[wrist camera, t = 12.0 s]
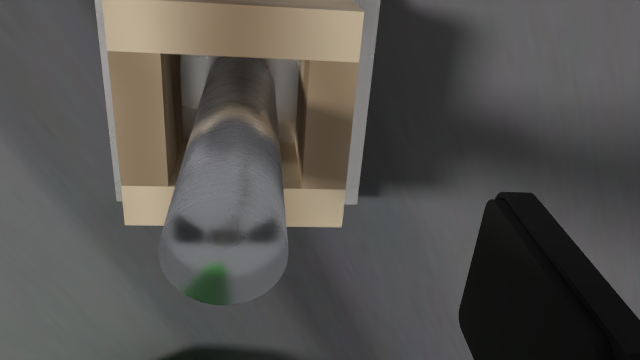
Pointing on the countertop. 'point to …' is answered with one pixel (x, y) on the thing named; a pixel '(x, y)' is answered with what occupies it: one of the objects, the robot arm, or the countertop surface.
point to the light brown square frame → (234, 41)
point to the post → (237, 167)
